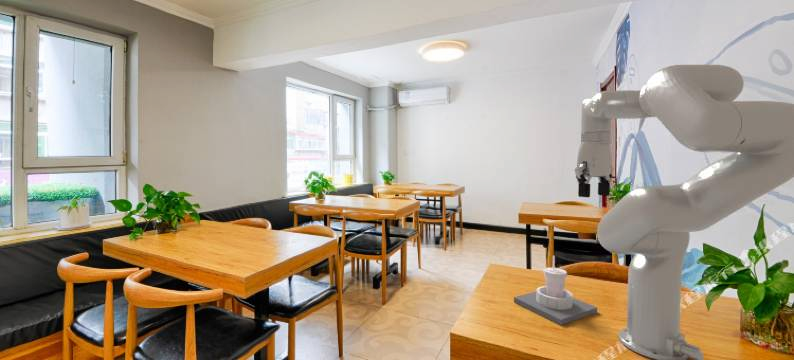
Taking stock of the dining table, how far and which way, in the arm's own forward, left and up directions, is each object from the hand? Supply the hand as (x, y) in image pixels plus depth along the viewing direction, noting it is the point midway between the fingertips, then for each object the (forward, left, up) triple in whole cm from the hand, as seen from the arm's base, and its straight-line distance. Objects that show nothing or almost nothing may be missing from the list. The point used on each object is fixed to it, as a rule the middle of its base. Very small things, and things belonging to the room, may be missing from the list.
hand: (594, 196), depth 94 cm
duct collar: (+4, +12, -33) cm, 36 cm away
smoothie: (+4, +12, -32) cm, 34 cm away
